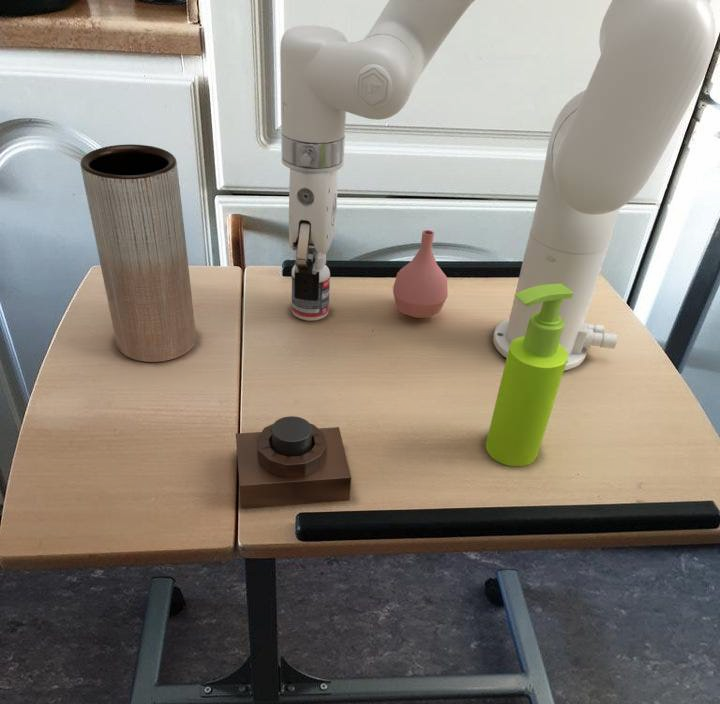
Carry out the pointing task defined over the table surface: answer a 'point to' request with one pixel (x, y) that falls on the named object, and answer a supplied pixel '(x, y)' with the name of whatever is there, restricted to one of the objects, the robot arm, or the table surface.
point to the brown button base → (292, 470)
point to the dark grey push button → (291, 436)
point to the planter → (141, 249)
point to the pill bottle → (321, 306)
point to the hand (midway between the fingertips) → (310, 286)
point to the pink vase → (421, 283)
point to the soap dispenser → (529, 380)
